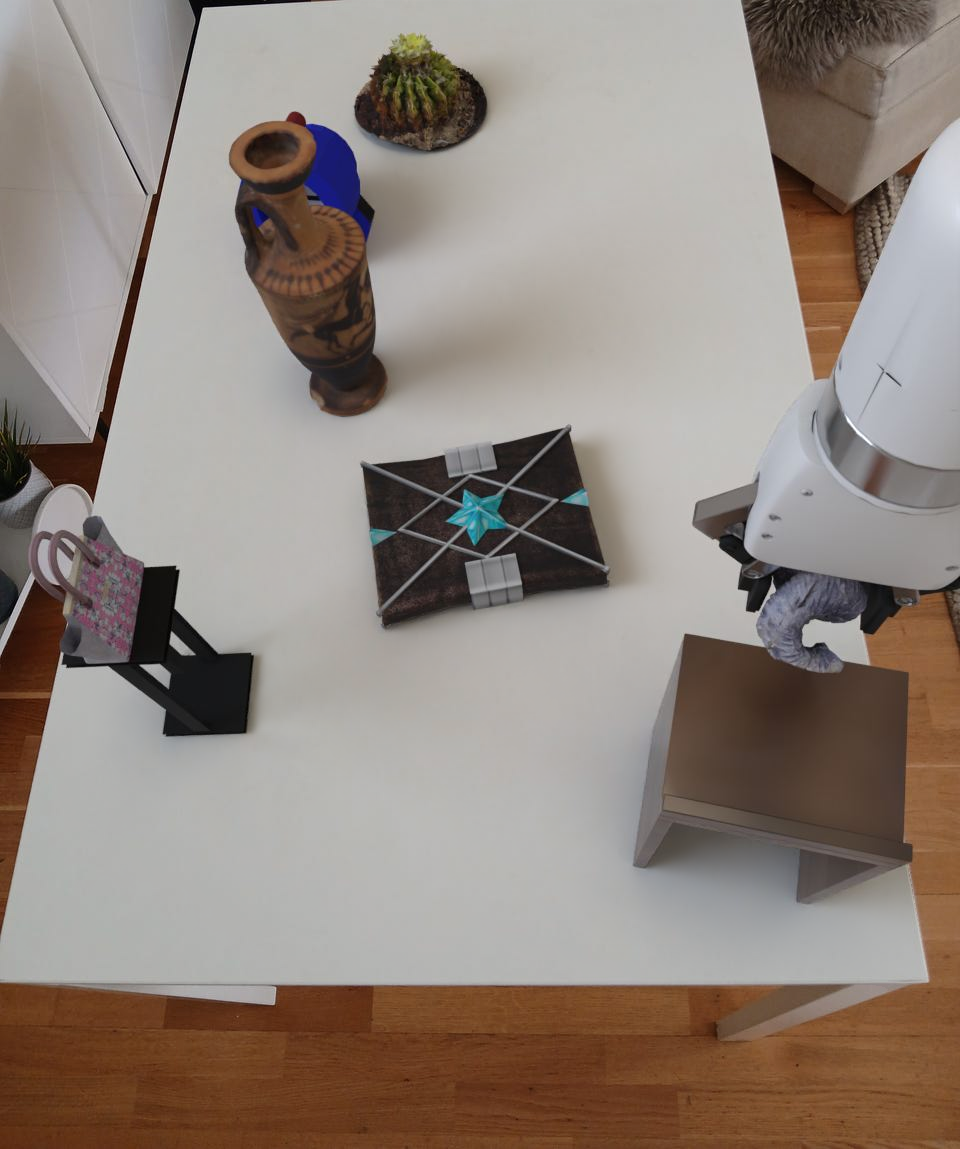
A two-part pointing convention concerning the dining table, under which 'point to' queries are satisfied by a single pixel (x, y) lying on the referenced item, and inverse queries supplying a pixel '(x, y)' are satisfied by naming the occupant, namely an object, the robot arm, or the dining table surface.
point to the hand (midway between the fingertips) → (811, 598)
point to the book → (480, 526)
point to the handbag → (142, 633)
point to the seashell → (807, 615)
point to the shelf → (782, 761)
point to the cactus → (420, 97)
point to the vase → (308, 267)
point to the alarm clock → (331, 177)
